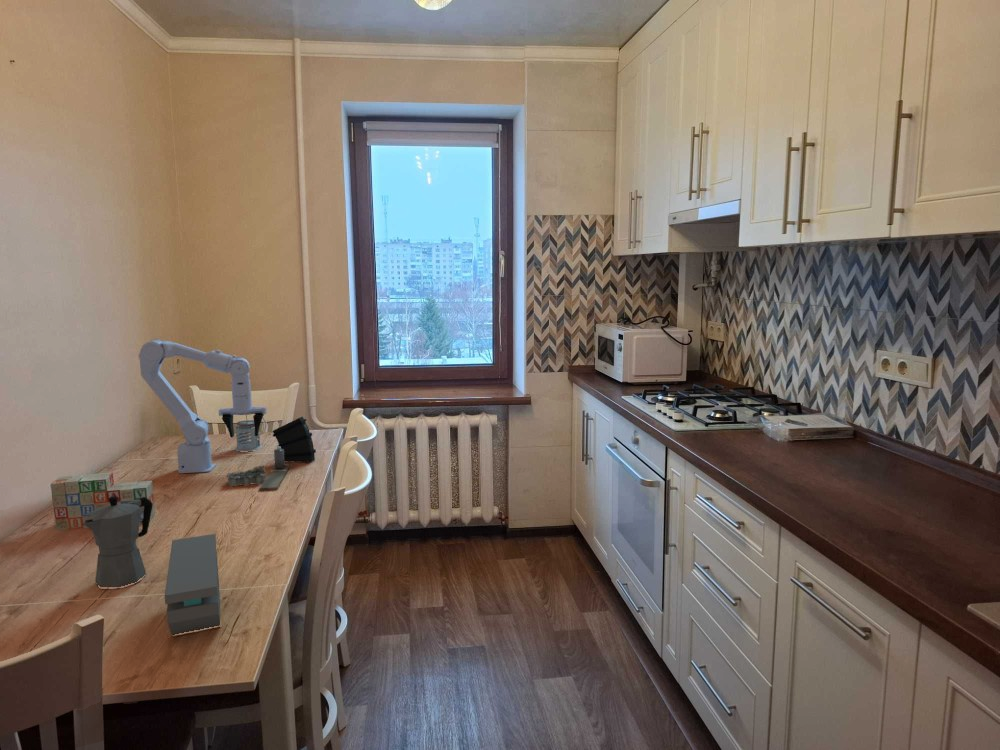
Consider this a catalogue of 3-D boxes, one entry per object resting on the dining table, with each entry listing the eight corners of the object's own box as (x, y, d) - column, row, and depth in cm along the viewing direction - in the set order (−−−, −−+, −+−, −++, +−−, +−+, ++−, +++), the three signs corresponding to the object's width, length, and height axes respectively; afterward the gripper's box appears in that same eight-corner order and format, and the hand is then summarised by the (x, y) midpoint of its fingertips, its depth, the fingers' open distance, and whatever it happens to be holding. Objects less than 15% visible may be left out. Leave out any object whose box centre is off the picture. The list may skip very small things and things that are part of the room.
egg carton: (266, 478, 208) (265, 465, 208) (264, 485, 201) (263, 472, 201) (229, 480, 206) (229, 467, 205) (226, 488, 199) (225, 474, 198)
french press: (243, 444, 248) (238, 377, 244) (272, 445, 246) (268, 378, 242) (228, 451, 238) (223, 382, 234) (259, 452, 237) (255, 382, 233)
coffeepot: (109, 598, 131) (99, 510, 128) (75, 590, 135) (65, 504, 132) (173, 566, 145) (166, 486, 143) (141, 559, 149) (133, 481, 146)
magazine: (320, 458, 223) (299, 417, 222) (287, 473, 225) (266, 434, 224) (324, 455, 227) (304, 415, 225) (291, 470, 229) (271, 431, 228)
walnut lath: (259, 490, 195) (259, 487, 195) (274, 467, 219) (274, 464, 218) (277, 489, 196) (277, 486, 196) (290, 466, 219) (290, 463, 219)
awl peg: (274, 469, 213) (273, 448, 212) (275, 467, 216) (274, 445, 215) (284, 469, 214) (283, 447, 213) (285, 466, 217) (284, 445, 216)
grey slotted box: (176, 592, 134) (172, 540, 132) (219, 584, 137) (215, 533, 135) (170, 657, 111) (164, 595, 109) (221, 646, 114) (216, 586, 112)
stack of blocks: (155, 514, 177) (151, 469, 175) (149, 522, 171) (145, 476, 169) (64, 522, 172) (59, 475, 170) (55, 530, 166) (49, 483, 164)
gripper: (214, 398, 212) (218, 440, 215) (262, 396, 215) (265, 438, 217) (220, 394, 219) (223, 434, 221) (266, 392, 222) (269, 432, 224)
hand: (244, 436), depth 220 cm, fingers open, 7 cm apart
